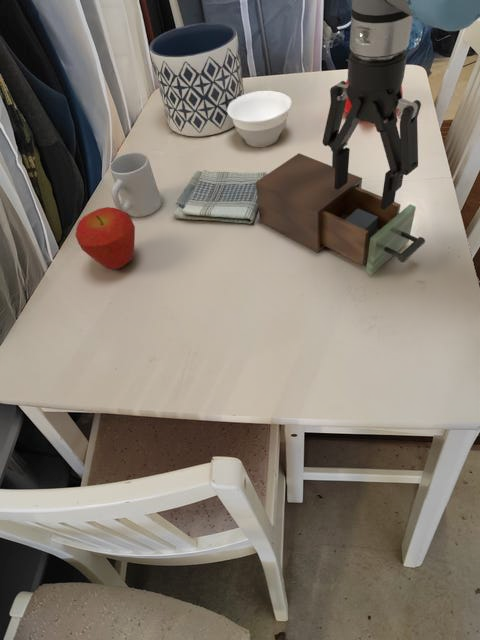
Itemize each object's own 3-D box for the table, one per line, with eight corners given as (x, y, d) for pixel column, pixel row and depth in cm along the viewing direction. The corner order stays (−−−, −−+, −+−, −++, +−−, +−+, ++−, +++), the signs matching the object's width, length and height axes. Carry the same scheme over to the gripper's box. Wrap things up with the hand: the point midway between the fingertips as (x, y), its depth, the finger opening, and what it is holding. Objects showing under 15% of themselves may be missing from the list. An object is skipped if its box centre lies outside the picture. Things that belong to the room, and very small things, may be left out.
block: (375, 235, 83) (378, 216, 79) (362, 248, 81) (364, 229, 78) (356, 227, 85) (357, 208, 82) (342, 239, 83) (343, 220, 80)
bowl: (220, 149, 114) (215, 117, 107) (248, 120, 122) (245, 88, 116) (277, 158, 108) (274, 124, 101) (302, 126, 116) (301, 93, 110)
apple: (132, 285, 85) (110, 236, 76) (84, 279, 88) (57, 231, 79) (153, 247, 92) (136, 198, 83) (108, 243, 95) (86, 195, 86)
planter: (255, 126, 119) (246, 43, 104) (174, 146, 118) (153, 64, 103) (236, 93, 134) (226, 16, 118) (164, 110, 133) (145, 34, 117)
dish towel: (270, 177, 103) (269, 165, 100) (253, 226, 92) (252, 214, 90) (196, 175, 107) (193, 163, 105) (171, 222, 97) (167, 210, 94)
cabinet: (358, 219, 89) (362, 178, 82) (317, 253, 85) (318, 211, 77) (299, 193, 98) (298, 152, 90) (259, 221, 93) (255, 182, 86)
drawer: (429, 250, 80) (438, 215, 74) (392, 285, 76) (399, 251, 70) (345, 212, 90) (347, 178, 84) (308, 241, 86) (308, 208, 80)
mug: (139, 192, 106) (124, 149, 98) (168, 197, 103) (155, 154, 94) (109, 223, 99) (91, 180, 91) (140, 229, 96) (124, 186, 88)
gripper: (297, 46, 63) (301, 184, 80) (437, 78, 52) (406, 230, 69) (331, 28, 66) (327, 165, 83) (471, 54, 54) (433, 207, 71)
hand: (363, 194), depth 76 cm, fingers open, 9 cm apart
